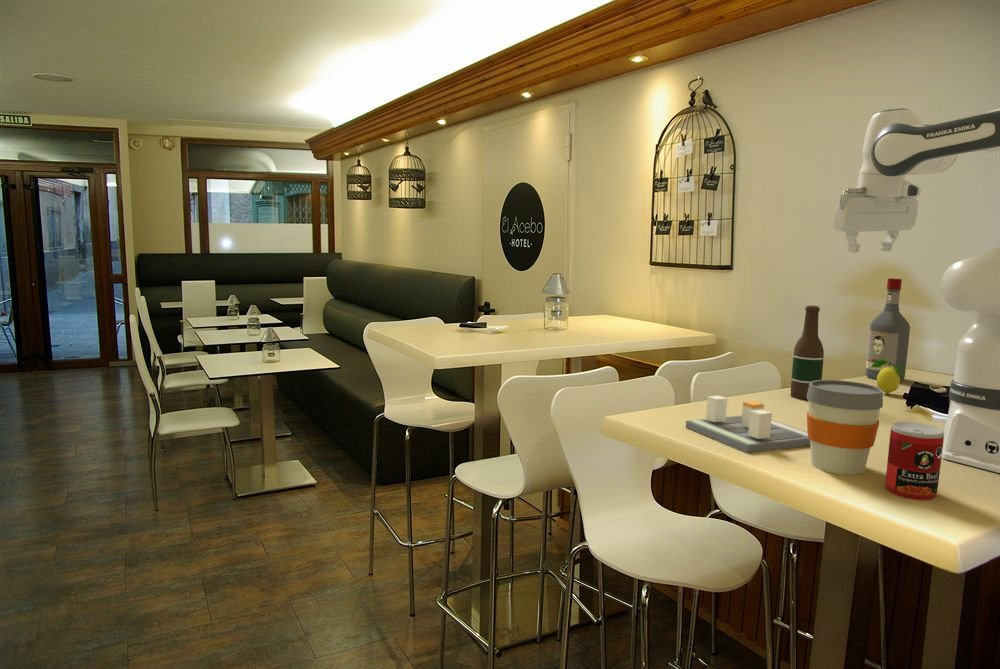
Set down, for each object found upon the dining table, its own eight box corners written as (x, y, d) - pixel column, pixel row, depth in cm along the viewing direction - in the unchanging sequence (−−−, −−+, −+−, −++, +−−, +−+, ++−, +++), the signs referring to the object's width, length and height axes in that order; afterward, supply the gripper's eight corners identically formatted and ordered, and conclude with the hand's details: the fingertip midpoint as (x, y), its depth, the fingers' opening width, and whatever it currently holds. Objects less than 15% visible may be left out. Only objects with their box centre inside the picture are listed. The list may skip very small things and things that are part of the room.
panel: (820, 443, 148) (821, 436, 148) (747, 453, 140) (747, 445, 140) (754, 420, 165) (754, 413, 165) (685, 427, 158) (686, 420, 158)
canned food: (894, 498, 118) (901, 432, 116) (877, 481, 126) (883, 420, 124) (945, 502, 117) (953, 436, 115) (925, 485, 125) (932, 423, 123)
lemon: (868, 391, 200) (872, 355, 199) (889, 391, 200) (892, 355, 199) (882, 396, 193) (886, 359, 192) (903, 397, 194) (907, 360, 192)
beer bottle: (826, 400, 187) (834, 308, 183) (796, 400, 187) (804, 307, 183) (813, 394, 195) (821, 304, 191) (784, 393, 195) (791, 304, 191)
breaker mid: (762, 427, 152) (763, 404, 151) (750, 428, 151) (752, 405, 150) (752, 423, 154) (754, 400, 154) (741, 425, 153) (743, 401, 153)
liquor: (879, 374, 225) (889, 277, 221) (908, 380, 217) (919, 279, 213) (861, 376, 221) (870, 277, 216) (889, 382, 213) (900, 280, 208)
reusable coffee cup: (856, 457, 140) (864, 380, 138) (889, 479, 127) (898, 395, 125) (790, 455, 140) (797, 378, 138) (817, 476, 128) (824, 393, 125)
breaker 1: (725, 421, 156) (727, 398, 155) (714, 422, 155) (716, 399, 154) (717, 417, 159) (718, 395, 158) (706, 418, 158) (707, 396, 157)
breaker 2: (769, 437, 144) (771, 412, 144) (758, 438, 143) (760, 414, 142) (759, 433, 147) (761, 409, 146) (748, 435, 146) (749, 410, 145)
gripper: (853, 189, 151) (844, 255, 154) (927, 188, 157) (916, 252, 161) (830, 186, 156) (821, 250, 160) (902, 186, 163) (892, 247, 167)
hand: (869, 251), depth 161 cm, fingers open, 8 cm apart
